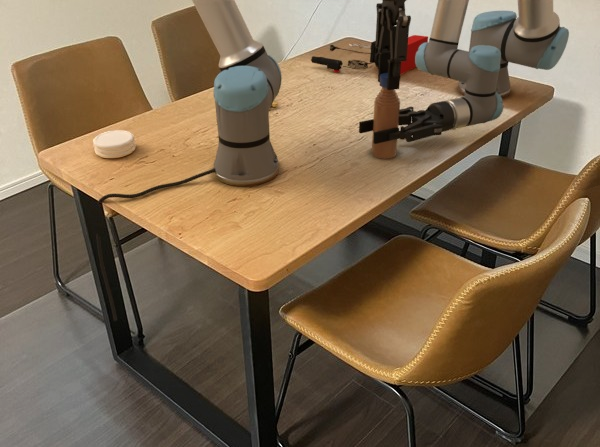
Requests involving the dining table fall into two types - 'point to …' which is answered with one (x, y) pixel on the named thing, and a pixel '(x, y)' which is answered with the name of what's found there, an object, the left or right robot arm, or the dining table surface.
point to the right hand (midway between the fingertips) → (367, 132)
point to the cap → (383, 80)
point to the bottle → (385, 121)
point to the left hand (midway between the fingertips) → (388, 84)
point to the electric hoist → (375, 56)
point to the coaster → (114, 144)
